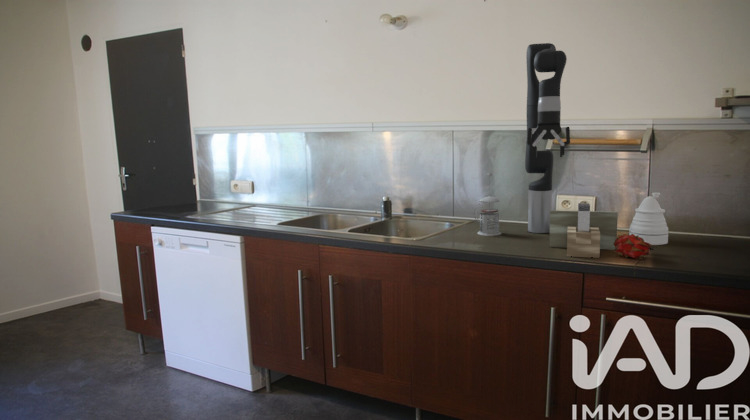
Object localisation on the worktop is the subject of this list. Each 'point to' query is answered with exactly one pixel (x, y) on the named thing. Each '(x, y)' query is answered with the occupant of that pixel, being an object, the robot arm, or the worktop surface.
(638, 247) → the dragon fruit
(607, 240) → the small shelf
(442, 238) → the worktop surface
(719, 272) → the worktop surface
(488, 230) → the french press
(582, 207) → the brushed steel bar
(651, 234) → the honey pot
